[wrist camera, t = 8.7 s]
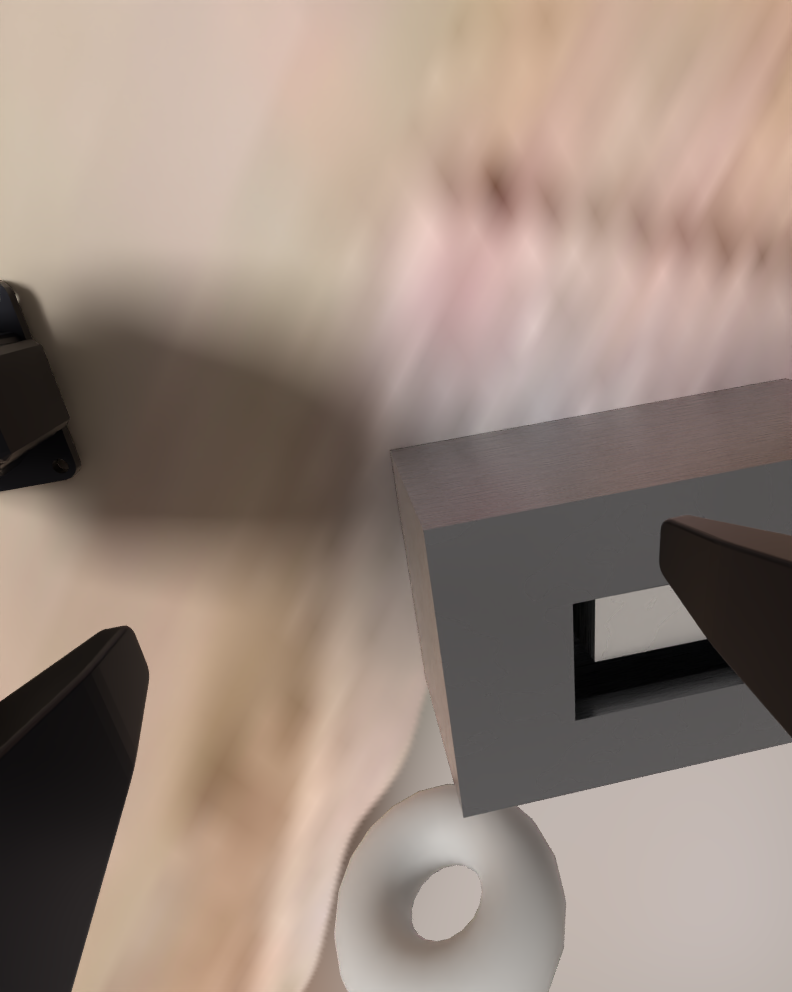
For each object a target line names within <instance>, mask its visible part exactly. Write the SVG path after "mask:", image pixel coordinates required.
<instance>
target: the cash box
mask: <svg viewBox="0 0 792 992" xmlns="http://www.w3.org/2000/svg"><path fill="white" fill-rule="evenodd" d="M390 454H391V461H392V467H393V473H394V480H395V486H396V493H397V499H398V505H399V512H400V518H401V524H402V531H403V537H404V544H405V550H406V556H407V563H408V569H409V575H410V582H411V588H412V595H413V601H414V607H415V614H416V620H417V627H418V633H419V639H420V646H421V652H422V658H423V665H424V671H425V678H426V682H427V685H428V689H429V693H430V696H431V700H432V703H433V707H434V711H435V715H436V718H437V722H438V725H439V729H440V733H441V736H442V740H443V744H444V748H445V751H446V755H447V759H448V763H449V766H450V770H451V774H452V777H453V781H454V785H455V788H456V792H457V796H458V799H459V803H460V807H461V810H462V814H463V818H466V817H470V816H474V815H479V814H483V813H487V812H492V811H496V810H500V809H505V808H509V807H513V806H518V805H522V804H527V803H531V802H535V801H540V800H544V799H548V798H552V797H557V796H561V795H566V794H569V793H574V792H578V791H583V790H587V789H591V788H596V787H600V786H604V785H609V784H613V783H618V782H622V781H626V780H631V779H635V778H639V777H643V776H648V775H652V774H656V773H661V772H665V771H670V770H674V769H678V768H683V767H687V766H691V765H696V764H700V763H704V762H709V761H713V760H717V759H721V758H726V757H730V756H735V755H739V754H743V753H747V752H752V751H756V750H761V749H765V748H769V747H773V746H778V745H782V744H787V743H791V742H792V738H791V737H790V736H789V735H788V733H787V732H786V731H785V730H784V729H783V728H782V726H781V725H780V724H779V723H778V722H777V721H776V719H775V718H774V717H773V716H772V715H771V714H770V712H769V711H768V710H767V709H766V708H765V707H764V705H763V704H762V703H761V702H760V701H759V700H758V699H757V697H756V696H755V695H754V694H753V693H752V692H751V690H750V689H749V688H748V687H747V686H746V685H745V683H744V682H743V681H742V680H741V679H740V678H739V676H738V675H737V674H736V673H735V672H734V671H733V669H732V668H731V667H730V666H729V665H728V664H727V663H726V661H725V660H724V659H723V658H722V657H721V656H720V654H719V653H718V652H717V651H716V649H715V648H714V647H713V646H712V645H711V643H710V642H709V641H708V639H704V640H699V641H694V642H690V643H685V644H680V645H675V646H670V647H665V648H660V649H655V650H651V651H646V652H641V653H636V654H631V655H626V656H621V657H616V658H612V659H607V660H602V661H597V662H594V660H593V659H592V657H591V656H590V655H589V653H588V652H587V651H586V649H585V648H584V646H583V645H582V644H581V642H580V641H579V639H578V638H577V637H576V635H575V634H574V632H573V604H575V603H580V602H585V601H590V600H594V599H599V598H604V597H609V596H614V595H619V594H623V593H628V592H633V591H638V590H643V589H648V588H653V587H657V586H662V585H667V584H669V583H668V582H667V581H666V579H665V578H664V576H663V574H662V572H661V570H660V566H659V549H660V530H661V525H662V523H663V522H664V521H665V520H666V519H669V518H673V517H678V516H683V515H691V516H696V517H701V518H706V519H711V520H716V521H721V522H726V523H731V524H736V525H741V526H746V527H751V528H756V529H761V530H766V531H771V532H776V533H781V534H786V535H791V536H792V380H789V379H781V380H775V381H770V382H764V383H759V384H753V385H747V386H742V387H736V388H731V389H725V390H720V391H714V392H709V393H703V394H698V395H692V396H687V397H681V398H676V399H670V400H665V401H659V402H654V403H648V404H643V405H637V406H632V407H626V408H621V409H615V410H610V411H604V412H599V413H593V414H588V415H582V416H577V417H571V418H566V419H560V420H555V421H549V422H544V423H538V424H533V425H527V426H522V427H516V428H511V429H505V430H500V431H494V432H489V433H483V434H478V435H472V436H467V437H461V438H456V439H450V440H445V441H439V442H434V443H428V444H423V445H417V446H412V447H406V448H401V449H395V450H390Z"/></svg>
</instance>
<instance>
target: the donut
mask: <svg viewBox="0 0 792 992" xmlns="http://www.w3.org/2000/svg"><path fill="white" fill-rule="evenodd" d="M454 865H460V866H466V867H467V868H469V869H471V870H473V871H475V872H476V874H477V875H478V877H479V879H480V882H481V889H482V893H481V899H480V905H479V907H478V909H477V911H476V914H475V916H474V918H473V919H472V920H471V921H470V922H469V923H468V925H467V926H466V927H465V928H464V929H463V930H462V931H460V932H459V933H457V934H456V935H454V936H453V937H451V938H449V939H446V940H441V941H432V940H426V939H424V938H423V937H421V936H420V935H418V933H417V932H416V930H415V929H414V927H413V924H412V907H413V903H414V899H415V897H416V895H417V894H418V892H419V890H420V888H421V886H422V885H423V884H424V882H426V881H427V880H428V879H429V877H430V876H431V875H433V874H434V873H436V872H438V871H439V870H441V869H443V868H446V867H450V866H454ZM565 912H566V900H565V895H564V890H563V886H562V883H561V878H560V874H559V870H558V866H557V862H556V858H555V855H554V853H553V852H552V850H551V848H550V847H549V845H548V843H547V842H546V840H545V839H544V837H543V835H542V833H541V832H540V830H539V829H538V827H537V825H536V824H535V823H534V821H533V820H532V819H531V818H530V817H529V816H528V815H527V814H525V813H524V812H523V811H522V810H521V809H520V808H518V807H517V806H513V807H509V808H505V809H500V810H496V811H492V812H487V813H483V814H479V815H474V816H470V817H466V818H463V814H462V810H461V807H460V803H459V799H458V796H457V792H456V788H455V785H454V784H445V785H441V786H438V787H434V788H430V789H426V790H422V791H419V792H417V793H415V794H413V795H412V796H410V797H408V798H406V799H405V800H403V801H401V802H399V803H398V804H396V805H394V806H393V807H391V808H390V809H389V810H388V811H387V812H386V813H385V814H384V815H383V816H382V817H381V818H380V819H379V820H378V821H377V822H376V823H375V824H374V825H373V826H372V827H371V828H370V829H369V830H368V832H367V833H366V835H365V836H364V838H363V839H362V841H361V842H360V844H359V846H358V847H357V849H356V850H355V852H354V853H353V855H352V856H351V859H350V861H349V864H348V867H347V870H346V872H345V875H344V878H343V881H342V884H341V886H340V889H339V895H338V903H337V913H336V922H335V933H334V938H335V944H336V950H337V956H338V962H339V968H340V975H341V978H342V980H343V983H344V985H345V987H346V989H347V990H348V992H549V989H550V986H551V983H552V980H553V977H554V975H555V972H556V969H557V966H558V963H559V960H560V957H561V955H562V951H563V949H564V934H565Z"/></svg>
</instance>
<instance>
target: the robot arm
mask: <svg viewBox="0 0 792 992" xmlns="http://www.w3.org/2000/svg"><path fill="white" fill-rule="evenodd" d="M68 420H69V415H68V412H67V409H66V407H65V404H64V402H63V399H62V397H61V394H60V391H59V389H58V386H57V384H56V381H55V378H54V376H53V373H52V371H51V368H50V366H49V363H48V360H47V358H46V355H45V353H44V350H43V348H42V346H41V345H40V344H39V343H37V342H36V341H34V340H33V339H32V336H31V334H30V331H29V329H28V326H27V324H26V321H25V319H24V316H23V313H22V311H21V308H20V306H19V303H18V301H17V298H16V296H15V293H14V292H13V290H12V288H11V287H10V286H9V285H8V284H7V283H5V282H4V281H1V280H0V491H6V490H11V489H17V488H22V487H28V486H34V485H39V484H45V483H51V482H56V481H62V480H67V479H69V478H71V477H73V476H74V475H75V474H76V473H77V472H78V471H79V470H80V467H81V463H80V459H79V456H78V454H77V451H76V448H75V446H74V443H73V441H72V438H71V436H70V433H69V431H68V428H67V426H66V424H67V422H68ZM58 459H62V460H64V461H66V463H67V464H68V467H69V469H63V468H61V467H60V466H59V465H58V462H57V460H58ZM659 566H660V570H661V572H662V574H663V576H664V578H665V579H666V581H667V582H668V583H669V585H670V586H671V588H672V589H673V591H674V592H675V594H676V595H677V596H678V598H679V599H680V601H681V602H682V604H683V605H684V607H685V608H686V609H687V611H688V612H689V614H690V615H691V617H692V618H693V620H694V621H695V622H696V624H697V625H698V627H699V628H700V630H701V631H702V632H703V634H704V635H705V637H706V638H707V639H708V641H709V642H710V643H711V645H712V646H713V647H714V648H715V649H716V651H717V652H718V653H719V654H720V656H721V657H722V658H723V659H724V660H725V661H726V663H727V664H728V665H729V666H730V667H731V668H732V669H733V671H734V672H735V673H736V674H737V675H738V676H739V678H740V679H741V680H742V681H743V682H744V683H745V685H746V686H747V687H748V688H749V689H750V690H751V692H752V693H753V694H754V695H755V696H756V697H757V699H758V700H759V701H760V702H761V703H762V704H763V705H764V707H765V708H766V709H767V710H768V711H769V712H770V714H771V715H772V716H773V717H774V718H775V719H776V721H777V722H778V723H779V724H780V725H781V726H782V728H783V729H784V730H785V731H786V732H787V733H788V735H789V736H790V737H791V738H792V536H791V535H786V534H781V533H776V532H771V531H766V530H761V529H756V528H751V527H746V526H741V525H736V524H731V523H726V522H721V521H716V520H711V519H706V518H701V517H696V516H691V515H683V516H678V517H673V518H669V519H666V520H665V521H664V522H663V523H662V525H661V530H660V549H659ZM148 684H149V670H148V666H147V663H146V660H145V658H144V655H143V653H142V650H141V648H140V645H139V643H138V640H137V638H136V635H135V633H134V631H133V630H132V629H131V628H130V627H128V626H119V627H114V628H109V629H104V630H102V631H100V632H98V633H97V634H95V635H94V636H93V637H91V638H90V639H88V640H87V641H85V642H84V643H83V644H81V645H80V646H78V647H77V648H76V649H74V650H73V651H71V652H70V653H68V654H67V655H66V656H64V657H63V658H61V659H60V660H58V661H57V662H56V663H54V664H53V665H51V666H50V667H49V668H47V669H46V670H44V671H43V672H41V673H40V674H39V675H37V676H36V677H34V678H33V679H31V680H30V681H29V682H27V683H26V684H24V685H23V686H22V687H20V688H19V689H17V690H16V691H14V692H13V693H12V694H10V695H9V696H7V697H6V698H5V699H3V700H2V701H0V992H71V991H72V988H73V984H74V981H75V977H76V973H77V970H78V966H79V963H80V959H81V956H82V952H83V949H84V945H85V942H86V938H87V935H88V931H89V928H90V924H91V920H92V917H93V913H94V910H95V906H96V903H97V899H98V896H99V892H100V889H101V885H102V882H103V878H104V875H105V871H106V868H107V864H108V860H109V857H110V853H111V850H112V846H113V843H114V839H115V836H116V832H117V829H118V825H119V822H120V818H121V815H122V811H123V807H124V804H125V800H126V797H127V793H128V790H129V786H130V783H131V779H132V775H133V771H134V767H135V762H136V757H137V751H138V745H139V739H140V733H141V726H142V720H143V714H144V708H145V702H146V696H147V690H148Z"/></svg>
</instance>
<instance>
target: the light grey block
mask: <svg viewBox="0 0 792 992" xmlns="http://www.w3.org/2000/svg"><path fill="white" fill-rule="evenodd" d="M573 632H574V634H575V635H576V637H577V638H578V639H579V641H580V642H581V644H582V645H583V646H584V648H585V649H586V651H587V652H588V653H589V655H590V656H591V657H592V659H593V660H594V662H597V661H602V660H607V659H612V658H616V657H621V656H626V655H631V654H636V653H641V652H646V651H651V650H655V649H660V648H665V647H670V646H675V645H680V644H685V643H690V642H694V641H699V640H704V639H707V638H706V637H705V635H704V634H703V632H702V631H701V630H700V628H699V627H698V625H697V624H696V622H695V621H694V620H693V618H692V617H691V615H690V614H689V612H688V611H687V609H686V608H685V607H684V605H683V604H682V602H681V601H680V599H679V598H678V596H677V595H676V594H675V592H674V591H673V589H672V588H671V586H670V585H669V584H667V585H662V586H657V587H653V588H648V589H643V590H638V591H633V592H628V593H623V594H619V595H614V596H609V597H604V598H599V599H594V600H590V601H585V602H580V603H575V604H573Z"/></svg>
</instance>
